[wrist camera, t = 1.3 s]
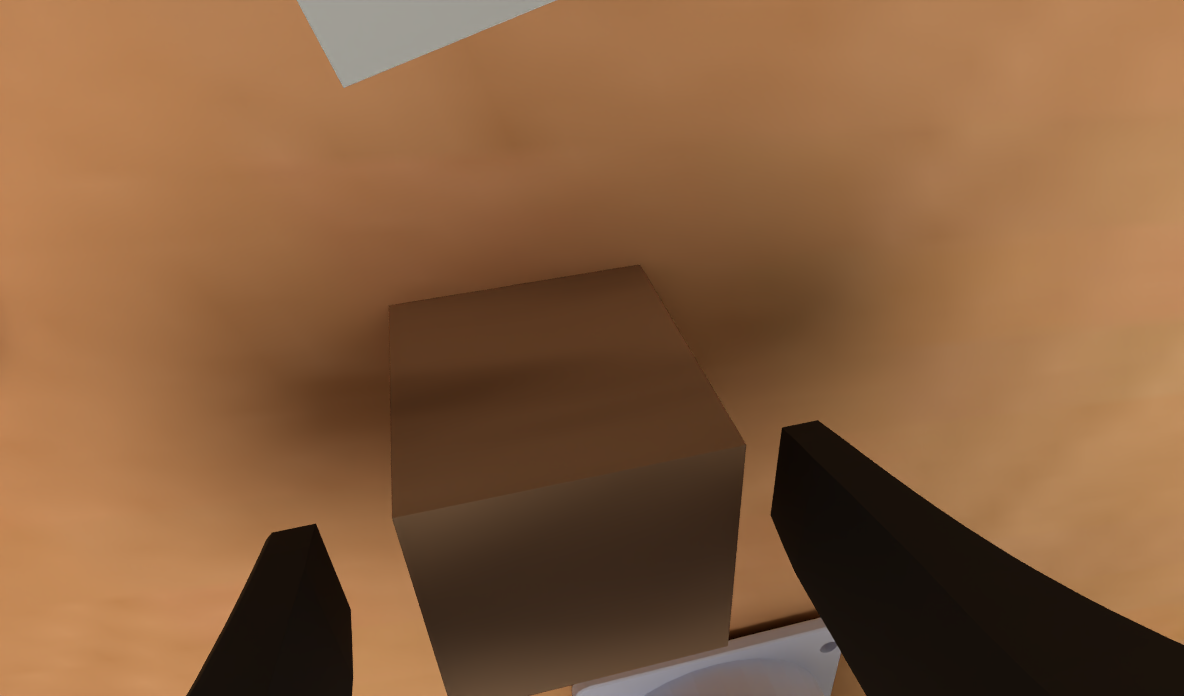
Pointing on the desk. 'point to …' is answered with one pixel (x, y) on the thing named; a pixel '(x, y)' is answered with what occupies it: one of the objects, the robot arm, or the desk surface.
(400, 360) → the walnut cube
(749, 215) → the desk surface
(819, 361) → the desk surface
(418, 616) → the desk surface
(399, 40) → the grey cube
